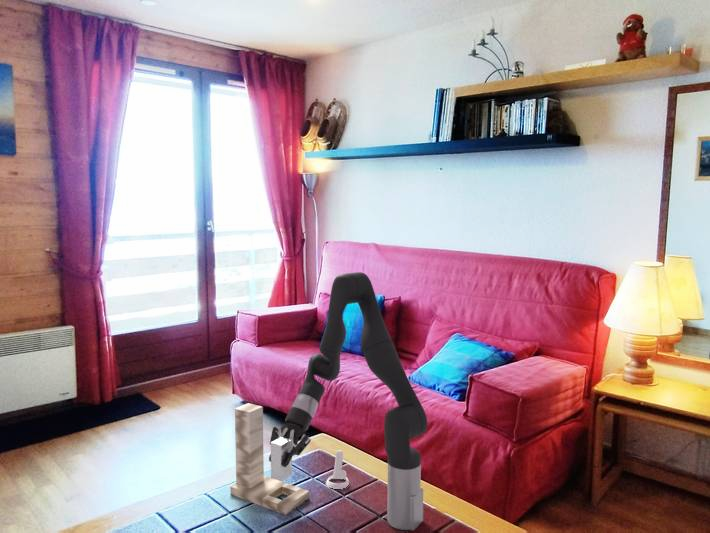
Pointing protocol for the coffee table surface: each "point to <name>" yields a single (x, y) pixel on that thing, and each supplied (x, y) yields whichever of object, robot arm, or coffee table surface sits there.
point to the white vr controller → (338, 473)
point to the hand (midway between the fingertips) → (277, 463)
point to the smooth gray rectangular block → (280, 459)
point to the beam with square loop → (259, 466)
